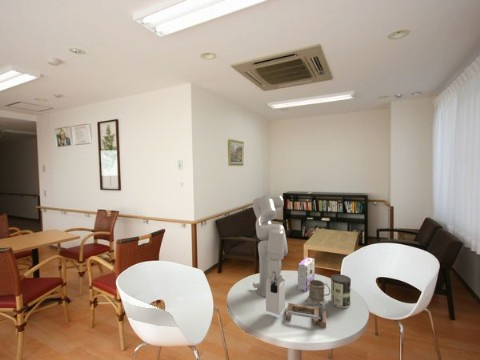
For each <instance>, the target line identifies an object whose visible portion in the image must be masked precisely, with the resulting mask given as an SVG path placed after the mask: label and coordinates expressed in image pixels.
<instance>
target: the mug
mask: <svg viewBox="0 0 480 360" xmlns="http://www.w3.org/2000/svg"><path fill="white" fill-rule="evenodd" d="M325 286H326V287H327V289H328V294H326V293H325ZM308 293H309V294H308V295H307V298H306V299H307V301H308V302H310V303H311V304H313V305H319V302H323V305H324V304H325V303H326V298H325V296H330V295H331V287H330V286H329V284H328V283H326V282H324V281H322V280H319V279H314V280H311V281H309V290H308Z"/></svg>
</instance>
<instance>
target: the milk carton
mask: <svg viewBox="0 0 480 360" xmlns="http://www.w3.org/2000/svg"><path fill="white" fill-rule="evenodd" d="M275 278H276V277H275ZM285 281H286V280H285V279H284V278H283V274H280V276H279V279H278V280H277V293H272V292H271V279H269V276H268V279H267V281H266V297H265V311H266V312H269V313H270V314H271V313H272V314H274V315H277V316H280V315H281V313H282V312H283V310H284V309H285V291H286V289H285V288H286V282H285ZM275 282H276V280H275Z"/></svg>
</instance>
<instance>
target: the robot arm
mask: <svg viewBox="0 0 480 360" xmlns="http://www.w3.org/2000/svg"><path fill="white" fill-rule="evenodd" d="M284 204H285V203H284V198H283V197H282V196H281V195H280V194H265V195H262V196H260V197H256V198H254V199H253V202H252V208H253V211H254V212H253V213H254V214H255V218H256V221H255V230H256V231H255V233H256V236H257V239H259V240H260V241H259V242H258V244H257V249H258V250H257V251H258V256H259V259H258V260H259V282H258V283H257V282H252V286H253V288H254V289H256V292H257V294H258V295H259V296H261V297H265V298H266V281H267V279H268V276H269V279H271V292H272V293H277V280H278V279H279V276H280V275H281V274H282V273H281V272H282V260H283V259H284V257H285V256H287V255H288V251H289V250H288V243H287V236H286V232H285V231H286V230H285V228H284V226H283V225H282V224H280V223H272V221H273V220H274V219H275V218H276V217H277V211H279V210H281V209H283V207H284V206H285V205H284ZM275 277H276V278H275ZM275 280H276V282H275Z"/></svg>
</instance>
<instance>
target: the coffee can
mask: <svg viewBox="0 0 480 360" xmlns="http://www.w3.org/2000/svg"><path fill="white" fill-rule="evenodd" d="M351 283H352V279H351V277H349V276H348V275H344V274H340V273H339V274H337V273H335V274H332V275H331V276H330V303H331V304H332V306H335V307H337V308H341V309H343V308H344V309H346V308H347V309H348V308H349V307H350V306H351V290H352V289H351Z"/></svg>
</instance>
